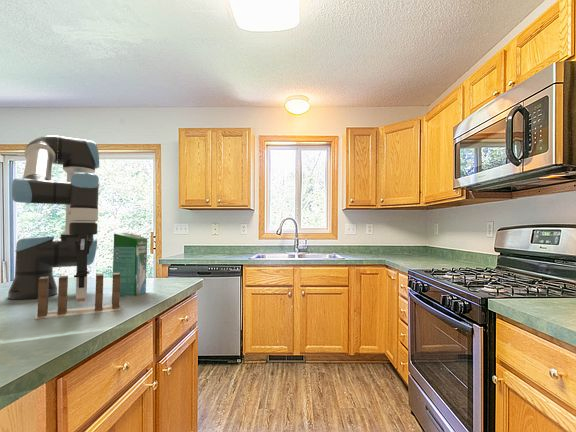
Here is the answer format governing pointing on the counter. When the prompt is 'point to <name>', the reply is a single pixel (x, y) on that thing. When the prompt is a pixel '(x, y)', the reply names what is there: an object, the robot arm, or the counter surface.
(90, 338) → the counter surface
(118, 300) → the domino
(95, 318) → the counter surface
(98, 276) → the domino
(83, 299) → the rust tile
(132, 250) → the milk carton
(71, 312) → the birch board
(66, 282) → the domino
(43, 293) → the domino
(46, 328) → the counter surface
